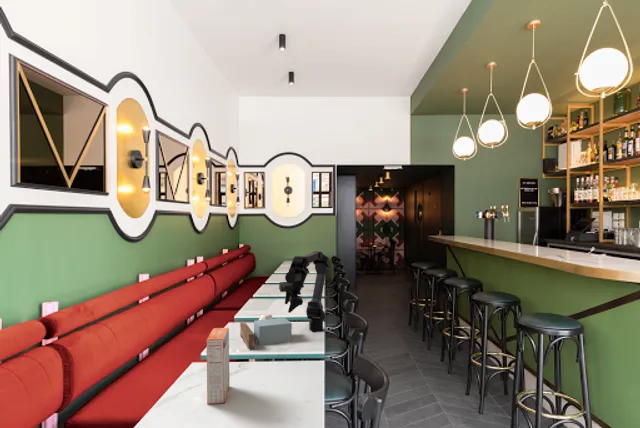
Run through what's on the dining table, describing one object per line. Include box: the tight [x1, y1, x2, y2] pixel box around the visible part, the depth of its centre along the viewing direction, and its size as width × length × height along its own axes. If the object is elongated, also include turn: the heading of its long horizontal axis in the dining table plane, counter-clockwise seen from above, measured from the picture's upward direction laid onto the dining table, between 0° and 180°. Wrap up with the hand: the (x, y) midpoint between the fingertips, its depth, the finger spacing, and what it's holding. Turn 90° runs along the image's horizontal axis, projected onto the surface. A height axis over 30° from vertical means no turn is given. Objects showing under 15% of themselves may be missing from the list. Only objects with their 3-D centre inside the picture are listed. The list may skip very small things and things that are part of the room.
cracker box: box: [205, 327, 230, 405], centre depth 135 cm, size 14×6×21 cm, turn 6°
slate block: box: [253, 317, 293, 346], centre depth 199 cm, size 16×12×9 cm
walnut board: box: [239, 321, 255, 350], centre depth 194 cm, size 2×24×7 cm, turn 20°
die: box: [258, 313, 274, 320], centre depth 217 cm, size 8×9×10 cm
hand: (287, 308), depth 203 cm, fingers open, 9 cm apart
